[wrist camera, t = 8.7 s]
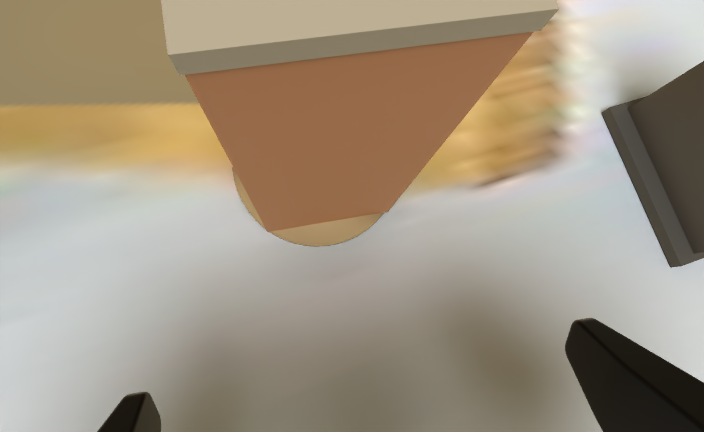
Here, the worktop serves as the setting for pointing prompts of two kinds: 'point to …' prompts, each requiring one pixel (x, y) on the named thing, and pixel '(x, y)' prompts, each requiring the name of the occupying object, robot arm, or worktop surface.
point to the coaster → (314, 225)
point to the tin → (340, 90)
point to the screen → (667, 161)
